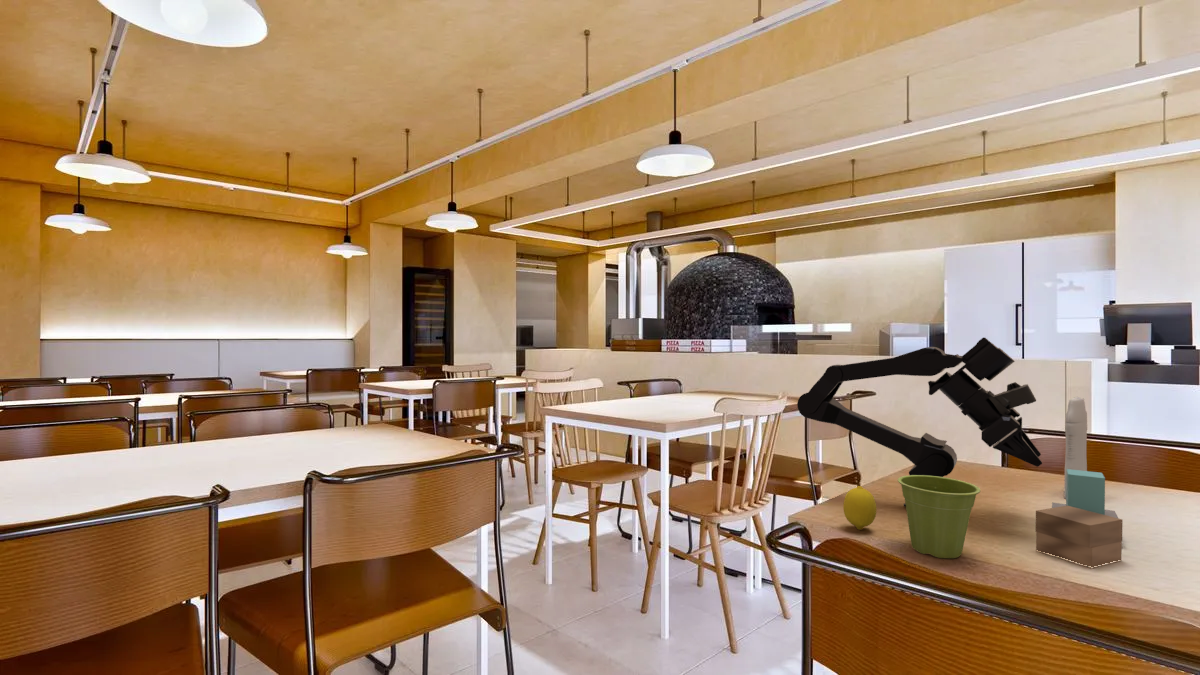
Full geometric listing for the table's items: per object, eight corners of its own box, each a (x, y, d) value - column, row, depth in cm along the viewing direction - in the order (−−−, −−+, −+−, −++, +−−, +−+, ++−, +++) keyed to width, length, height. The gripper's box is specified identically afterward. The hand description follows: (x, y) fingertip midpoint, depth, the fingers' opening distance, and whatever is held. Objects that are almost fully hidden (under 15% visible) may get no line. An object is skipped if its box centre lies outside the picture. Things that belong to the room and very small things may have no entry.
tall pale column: (1071, 490, 136) (1072, 394, 136) (1094, 494, 133) (1095, 396, 133) (1056, 498, 130) (1057, 397, 130) (1079, 502, 126) (1080, 399, 126)
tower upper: (1035, 531, 99) (1035, 510, 98) (1067, 525, 101) (1067, 505, 101) (1089, 548, 91) (1090, 525, 91) (1122, 541, 94) (1122, 519, 94)
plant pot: (946, 570, 90) (946, 496, 90) (881, 544, 101) (881, 478, 101) (996, 558, 95) (997, 488, 95) (929, 535, 106) (930, 472, 106)
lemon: (874, 526, 110) (874, 483, 110) (877, 536, 105) (878, 491, 105) (842, 523, 112) (842, 481, 112) (844, 532, 107) (844, 488, 107)
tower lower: (1036, 553, 98) (1036, 531, 98) (1065, 546, 102) (1065, 525, 102) (1092, 570, 91) (1092, 548, 91) (1121, 562, 94) (1121, 540, 94)
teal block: (1067, 513, 106) (1068, 474, 106) (1066, 506, 110) (1066, 468, 110) (1104, 518, 103) (1105, 478, 103) (1101, 511, 107) (1101, 472, 107)
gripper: (1004, 371, 105) (1083, 440, 99) (1006, 366, 120) (1075, 426, 114) (952, 412, 110) (1025, 480, 104) (960, 402, 125) (1024, 461, 119)
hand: (1039, 460), depth 110 cm, fingers open, 9 cm apart
